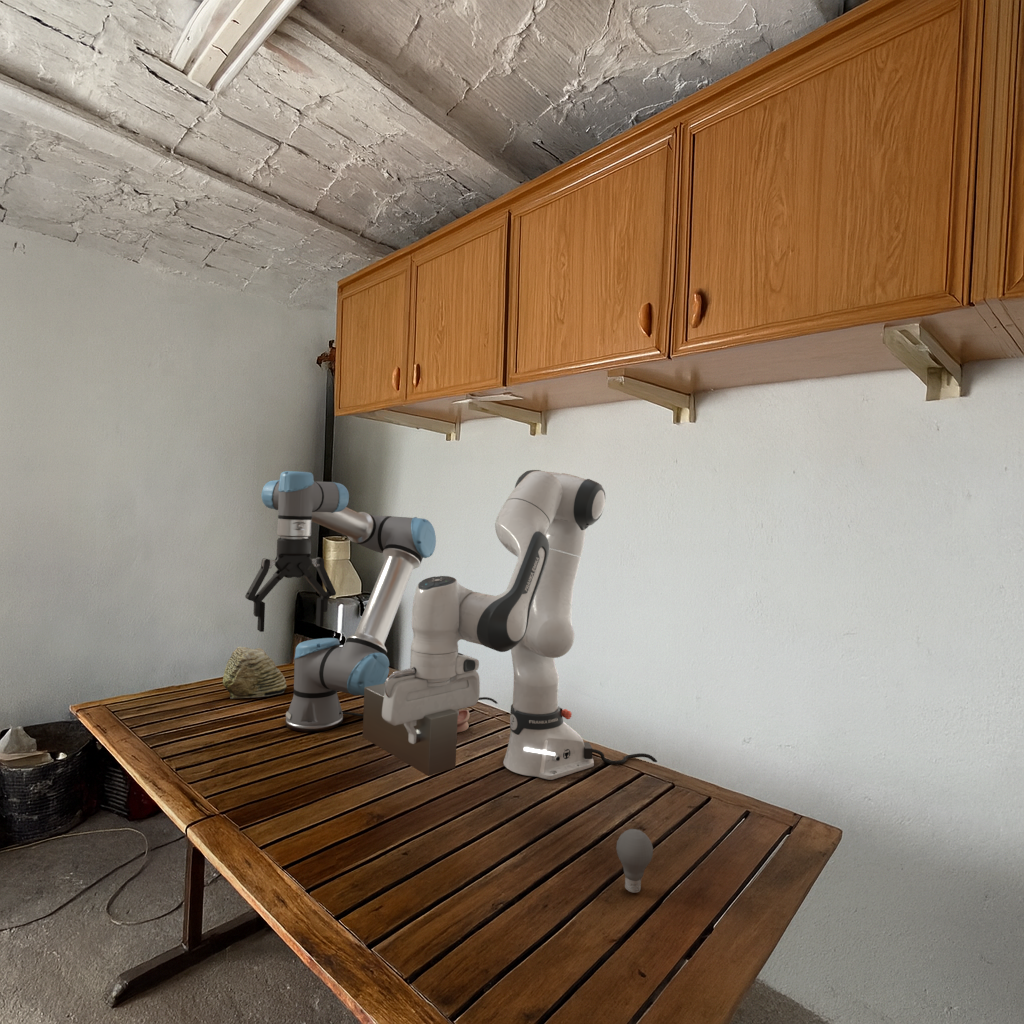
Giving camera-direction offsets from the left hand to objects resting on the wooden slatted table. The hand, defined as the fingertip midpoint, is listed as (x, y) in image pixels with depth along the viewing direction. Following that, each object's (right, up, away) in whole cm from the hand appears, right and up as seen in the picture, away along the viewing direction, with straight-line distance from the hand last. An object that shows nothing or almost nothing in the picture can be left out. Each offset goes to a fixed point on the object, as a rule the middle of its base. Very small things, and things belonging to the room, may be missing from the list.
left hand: (290, 628), depth 148 cm
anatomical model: (+33, -33, +29) cm, 55 cm away
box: (+31, -20, -24) cm, 44 cm away
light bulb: (+72, -36, -42) cm, 91 cm away
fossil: (-29, -30, +50) cm, 65 cm away
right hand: (+37, -15, -30) cm, 49 cm away
